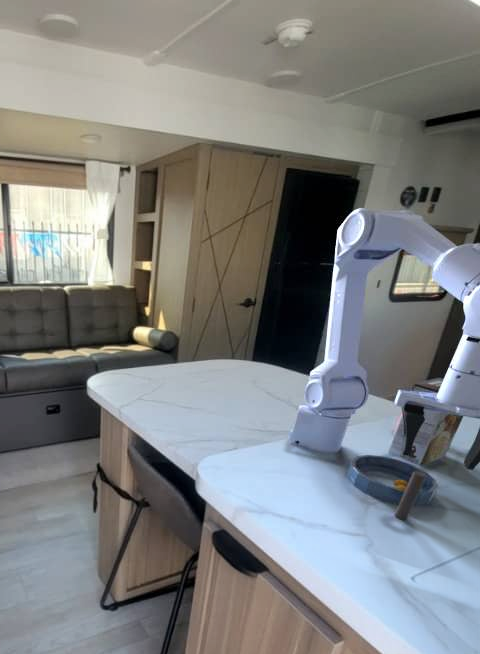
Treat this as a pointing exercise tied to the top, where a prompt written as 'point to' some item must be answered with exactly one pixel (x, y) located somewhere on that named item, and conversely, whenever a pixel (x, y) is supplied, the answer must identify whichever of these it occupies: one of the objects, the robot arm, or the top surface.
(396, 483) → the bead
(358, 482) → the bowl
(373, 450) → the top surface
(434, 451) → the coffee box
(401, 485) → the bead
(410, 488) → the stick
